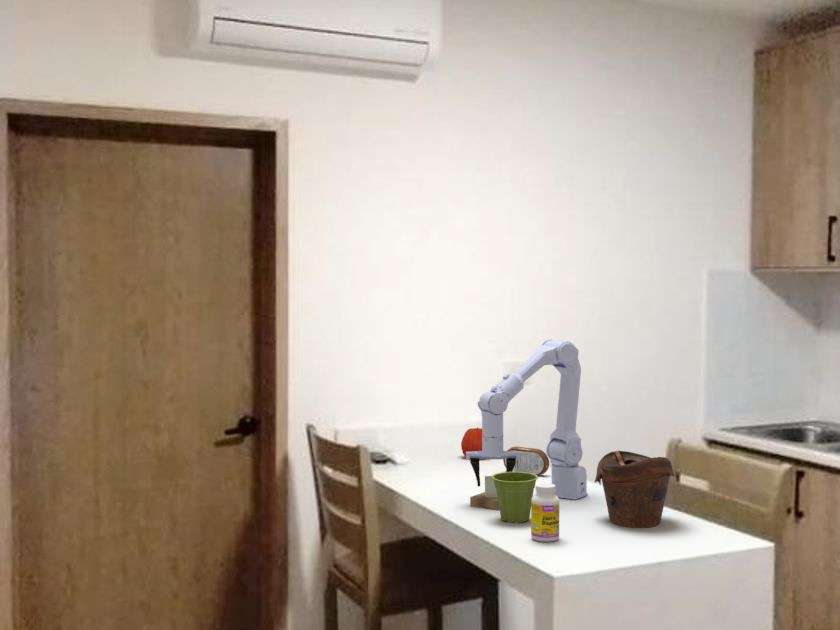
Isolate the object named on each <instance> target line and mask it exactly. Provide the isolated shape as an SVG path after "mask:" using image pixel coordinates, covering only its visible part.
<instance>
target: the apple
mask: <svg viewBox="0 0 840 630" xmlns="http://www.w3.org/2000/svg"><path fill="white" fill-rule="evenodd" d="M460 447H461V452H462V454H463V455H464V457H466V452H472V451H482V427H481V428H480V427H476V428H474V427H473V428H468V429H467V430H466V431H465V433H464V435H463V436H462V440H461V445H460Z"/></svg>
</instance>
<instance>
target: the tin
mask: <svg viewBox="0 0 840 630" xmlns="http://www.w3.org/2000/svg"><path fill="white" fill-rule="evenodd" d="M506 451H515V452H520V460H516V464H515V466H514V468H513V471H512V472H526V473H532V474H535V475H537V476H538V477H539V476H541V475H544V474H546V472H547V471H548V470H549V467H550V458H549V457H548V455H547V453H545V451H543V450H542V449H540V448H534V447H523V446H512V447H510V448H509V449H507V450H506ZM502 460H503V465H504V467H505V468H506V459H502Z"/></svg>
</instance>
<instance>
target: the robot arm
mask: <svg viewBox="0 0 840 630" xmlns="http://www.w3.org/2000/svg"><path fill="white" fill-rule="evenodd" d="M550 365H551V366H553V367H554V369H556V370H557V371H558V373H560V382H559V392H558V403H557V416H556V425H555V426H556V427H555V429H554V430H553V431H552V432H551V434H550V435H549V436H550V438H549V441H548V443H547V445H546V451H545V452H546V455H547V457H548V459H549V460H550V463H551V484H554V485H555V492H554V494H555V495H556V496H557V497H558V498H559V499H567V500H575V501H576V500H579V499H581V498H583V497H586V496H588V495H589V494H588V492H587V491H588V490H587V488H588V487H587V483H588V482H587V476H588V475H587V474H588V473H587V469H586V468H585V466H582V465H579V463H580V462H581V461H582V458H583V452H584V451H583V448H582V439H581V437H580V436H579V434H578V432H577V431H576V429H577V421H578V420H577V418H578V406H579V397H580V384H581V375H582V366H581V364H580V359H579V349H578V348H577V346H576V345H575V344H574V343H572V342H571V341H564V340H563V341H562V340H561V341H560V340H553V339H547V340H544V341H543V342H542V343H541V344H540V345H539V346H537V347H536V350H535V352H534V353H533V354H532V355H531V356H530V357H529V358H528V359H527V360H526V361H525V362H524V363H523V364H522V366H520V368H519V369H518V370H516V372H515V373H513V372H511V373H508V374H506V373H505V374H504V375H502V379H500V381H499V382H497V384H496V385H493V386H492V387H490V391H485V392H483V393H482V394H481V396H480V398H479V401H477V407H478V408H479V410H480V412H481V429H482V451H472V452H466V456H465V459H466V461H469V462H470V465H471V467H472V471H473V472H474V474H475V479H476V482H477V483H476V484H477V487H481V477H480V460H503V459H506V467H505V470H506V471H505V472H512V471H513V468H514V466H515V464H516V460H520V452H515V451H507V450H504V412H506V411H507V409H508V406H509V403H510V402H511V401H512V399H514V398H515V397H516V396H517V395H518V394H519V393H520V392H522V391H523V389H524V386H525V382H526V381H527V380H528V379H530V378H531V377H532V376H533V375H535V374H536V372H538V371H539V370H540V369H542V368H543V367H544V366H550Z"/></svg>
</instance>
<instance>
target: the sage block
mask: <svg viewBox="0 0 840 630" xmlns="http://www.w3.org/2000/svg"><path fill="white" fill-rule="evenodd" d="M484 492H485V496H486V498H498V497H497V491H496V488H495V484H494V480H493V479H492V475H484Z"/></svg>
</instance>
